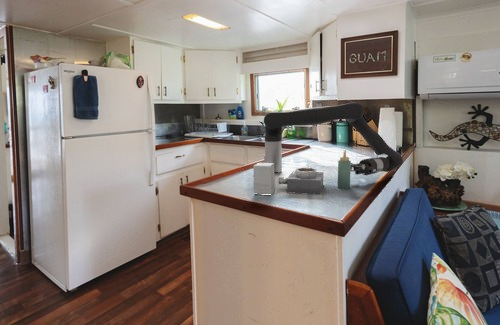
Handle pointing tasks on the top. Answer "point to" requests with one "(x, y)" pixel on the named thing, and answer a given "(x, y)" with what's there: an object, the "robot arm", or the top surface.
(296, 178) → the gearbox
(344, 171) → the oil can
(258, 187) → the supplement box
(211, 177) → the top surface
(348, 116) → the robot arm
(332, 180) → the top surface
